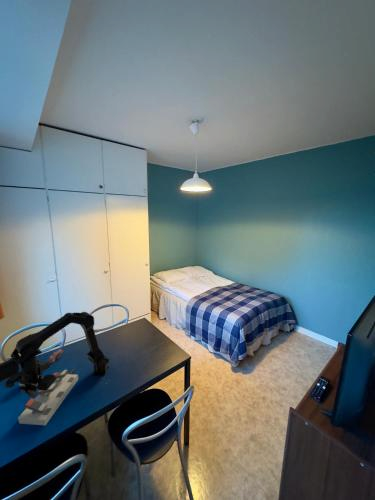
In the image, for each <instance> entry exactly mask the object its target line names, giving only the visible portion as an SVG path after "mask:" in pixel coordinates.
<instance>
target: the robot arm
mask: <svg viewBox="0 0 375 500" xmlns="http://www.w3.org/2000/svg"><path fill="white" fill-rule="evenodd" d="M70 324H75V325H80V327H81V329H83V333H84V335H85V339H86V342H87V345H88V348H89V351H88V352H87V353H86V356H87V360H89V361H90V363H92V364H93V372H94V373H93V376H102V377H103V376H105V375H106V374H107V372H108V370H109V368H110V366H109V365H108V364H109V362H110V359H109V357H107V356H106V355H105V354H104V353H103V351H102V350H101V349H100V347H99V344H98V340H97V337H96V333H95V328H94V327H95V317H94V316H93V315H91V313H89V312H86V311H82V312H66V313H65V314H63V316H61V317H60V318H58V319H56V320H55V321H54V322H51V324H49V325H47V326H46V327H44V328H43V329H41V330H39V331H37V332H36V333H30V334H28V335H26V336H25V337H22V338H21V339H19V340H18V341H17V342H16V345H15V347H14V349H13V351H12V352H11V354H10V359H8V360H5V361H3V362H1V363H0V383H2V382H3V381H5V383H4V386H5V388H8V389H9V388H10V389H12V388H13V387H14V386H15V383H18V385H19V387H18V389H17V390H19V391H22V393H24V394H26V395H27V396H29V398H30V399H31V398H32V399H35V398H36V396H37V395H36V394H37V393H38V391H39V390H44V391H45V390H47V389H48V388H49V387H50V386H51V385H52V384H53V382H54V381H55V380H56V376H55V375H53V374H49V373H48V374H45V375H44V376H42V375H43V374H44V372H45V371H47V370H49V365H50V364H49V361H47V360H39V359H38V358H37V356H39V355H40V354H42V353H43V351H42V350H41V348H40V347H41V346H42V345H43V344H44V343H45V342H46V341H47V340H49V339H50V338H51V337H53V336H54V335H55V334H57V333H58V332H60V331H61V330H63V329H64V328H66V327H67V326H68V325H70Z"/></svg>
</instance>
